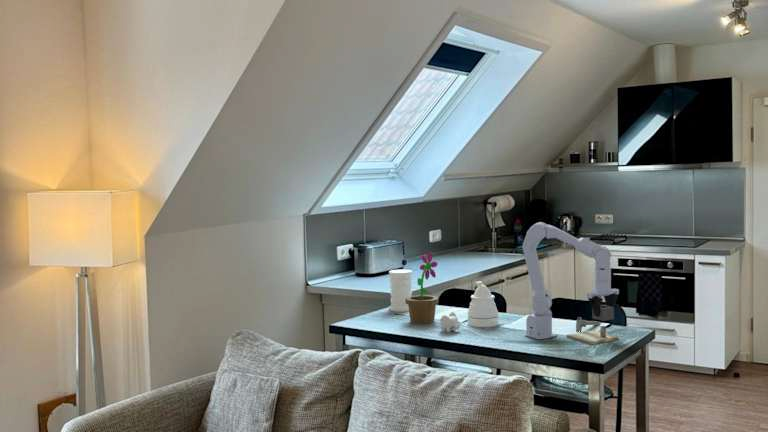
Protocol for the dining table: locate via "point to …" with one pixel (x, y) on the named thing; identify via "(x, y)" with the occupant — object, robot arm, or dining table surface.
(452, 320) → the elephant figurine
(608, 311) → the collar
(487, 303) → the honey pot
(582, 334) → the post board
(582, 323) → the caliper
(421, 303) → the flowerpot
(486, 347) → the dining table surface
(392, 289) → the decorative container
